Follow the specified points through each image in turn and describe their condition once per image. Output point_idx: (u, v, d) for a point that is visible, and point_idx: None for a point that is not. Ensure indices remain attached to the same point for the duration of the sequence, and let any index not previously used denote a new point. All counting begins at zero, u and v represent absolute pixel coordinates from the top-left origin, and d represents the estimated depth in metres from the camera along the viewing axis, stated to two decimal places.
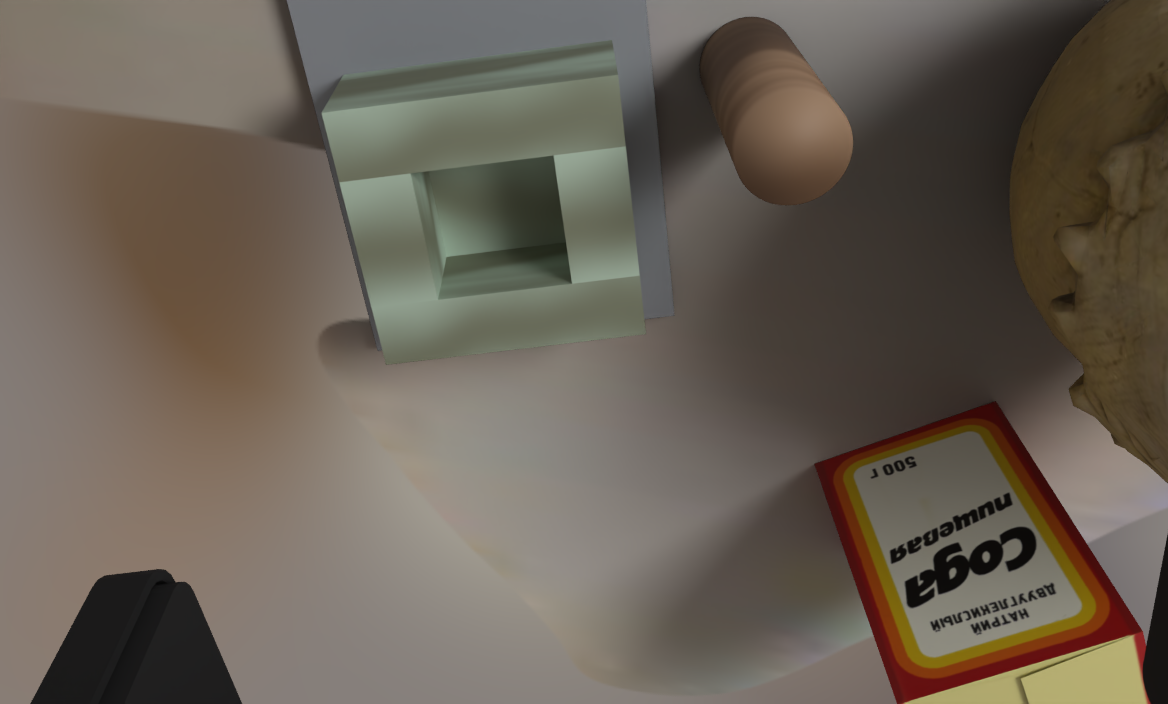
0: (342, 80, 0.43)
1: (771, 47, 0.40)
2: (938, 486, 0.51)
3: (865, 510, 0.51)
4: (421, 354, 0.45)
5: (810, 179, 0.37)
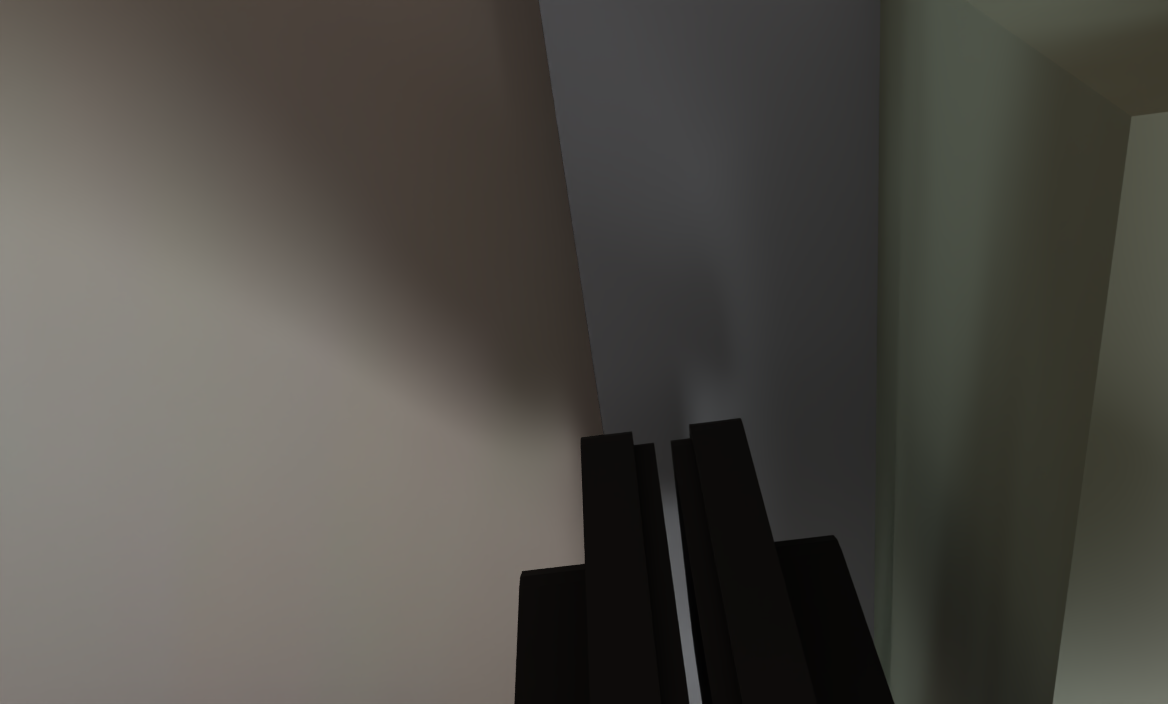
0: None
1: None
2: None
3: None
4: (1146, 371, 0.06)
5: None
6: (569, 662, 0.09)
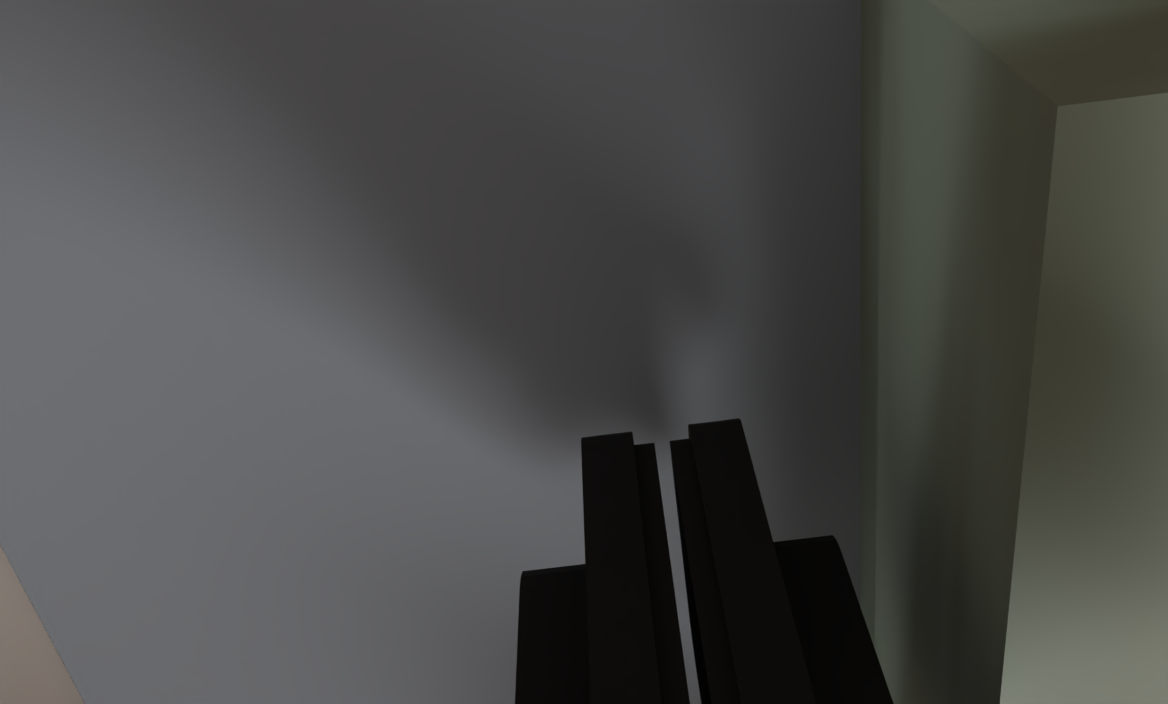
0: None
1: None
2: None
3: None
4: (1080, 345, 0.07)
5: None
6: (569, 662, 0.09)
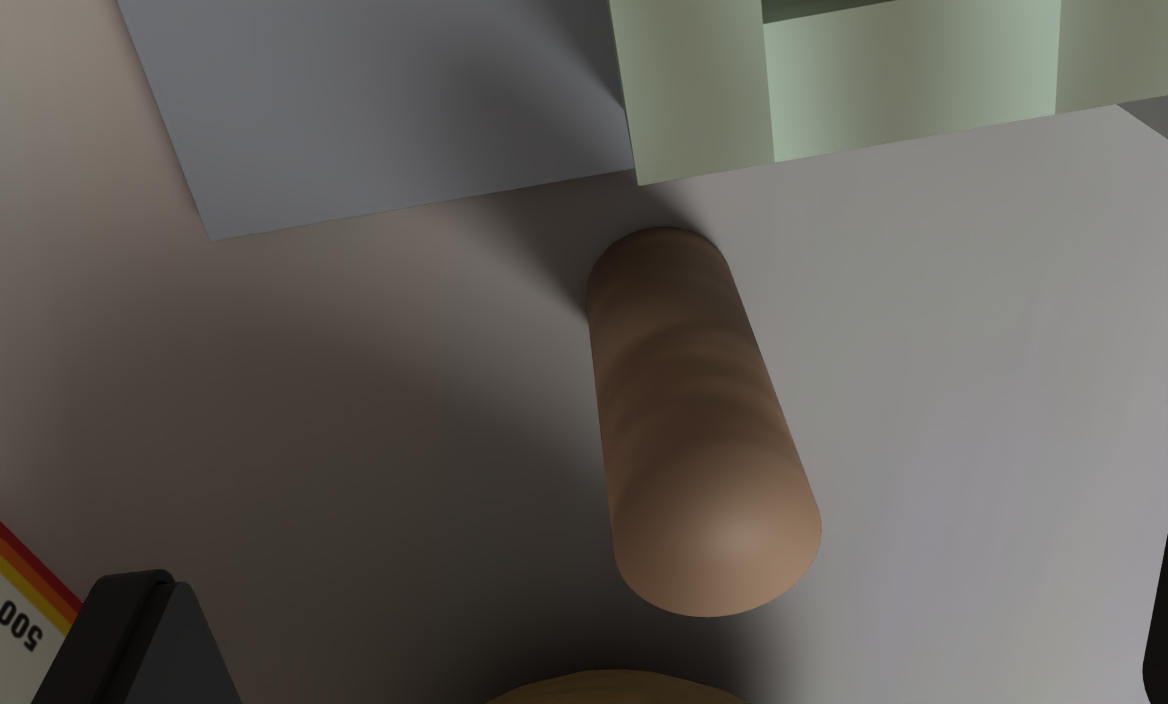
0: None
1: None
2: None
3: None
4: None
5: (664, 573, 0.21)
6: None
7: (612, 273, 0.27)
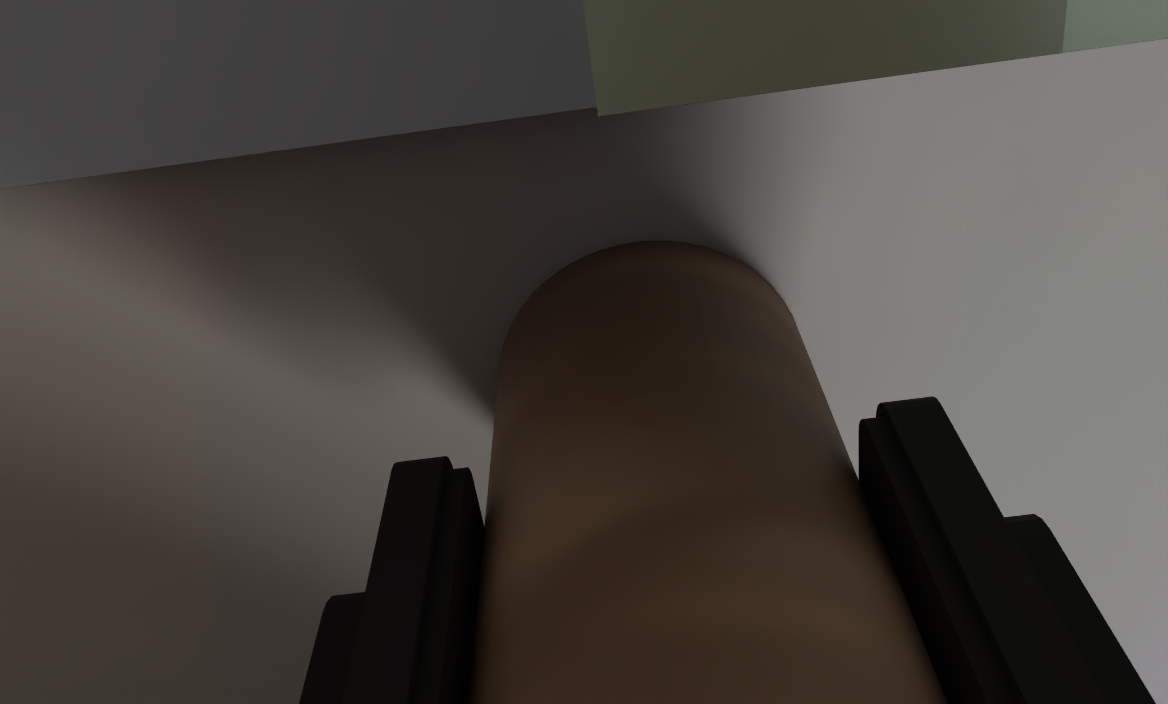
0: None
1: None
2: None
3: None
4: None
5: None
6: None
7: (539, 343, 0.12)
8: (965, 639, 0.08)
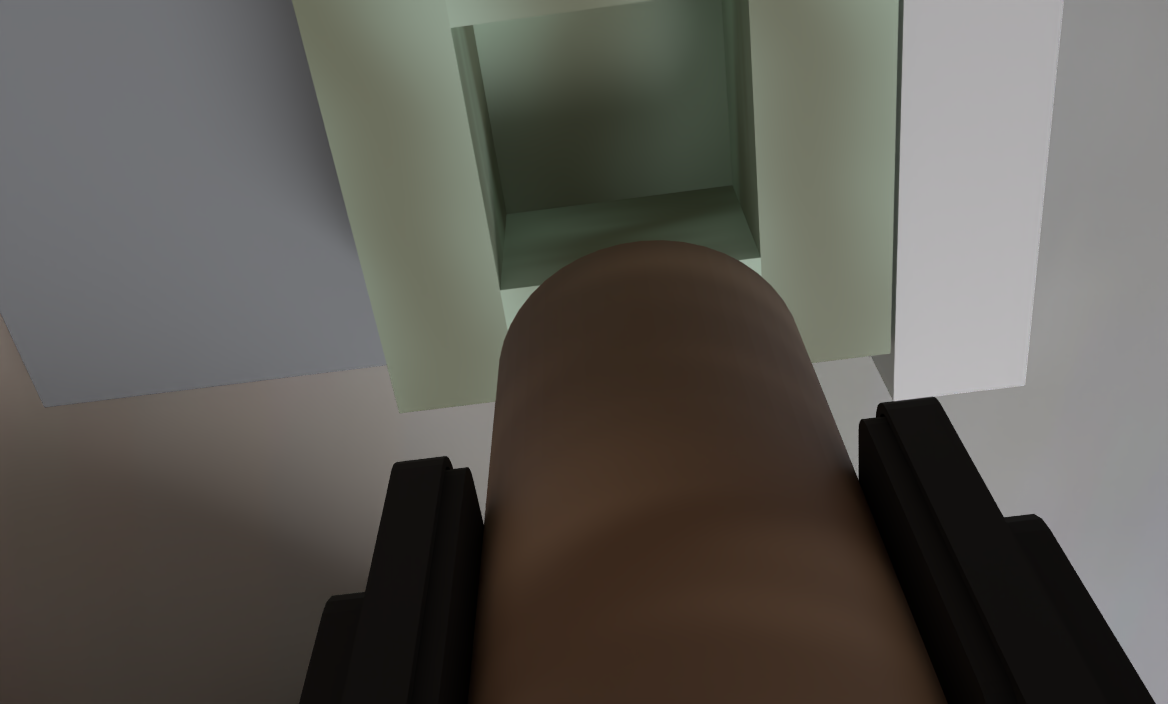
0: None
1: None
2: None
3: None
4: None
5: None
6: None
7: (538, 342, 0.12)
8: (966, 639, 0.08)
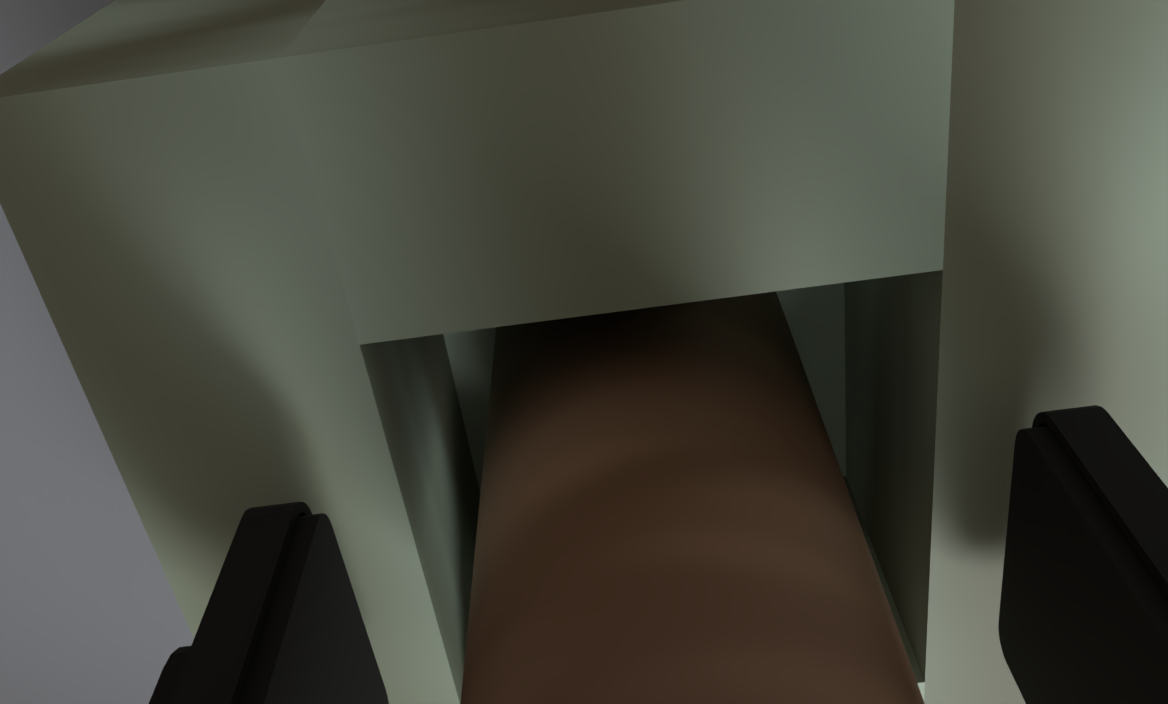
0: None
1: None
2: None
3: None
4: (61, 266, 0.10)
5: None
6: None
7: None
8: None
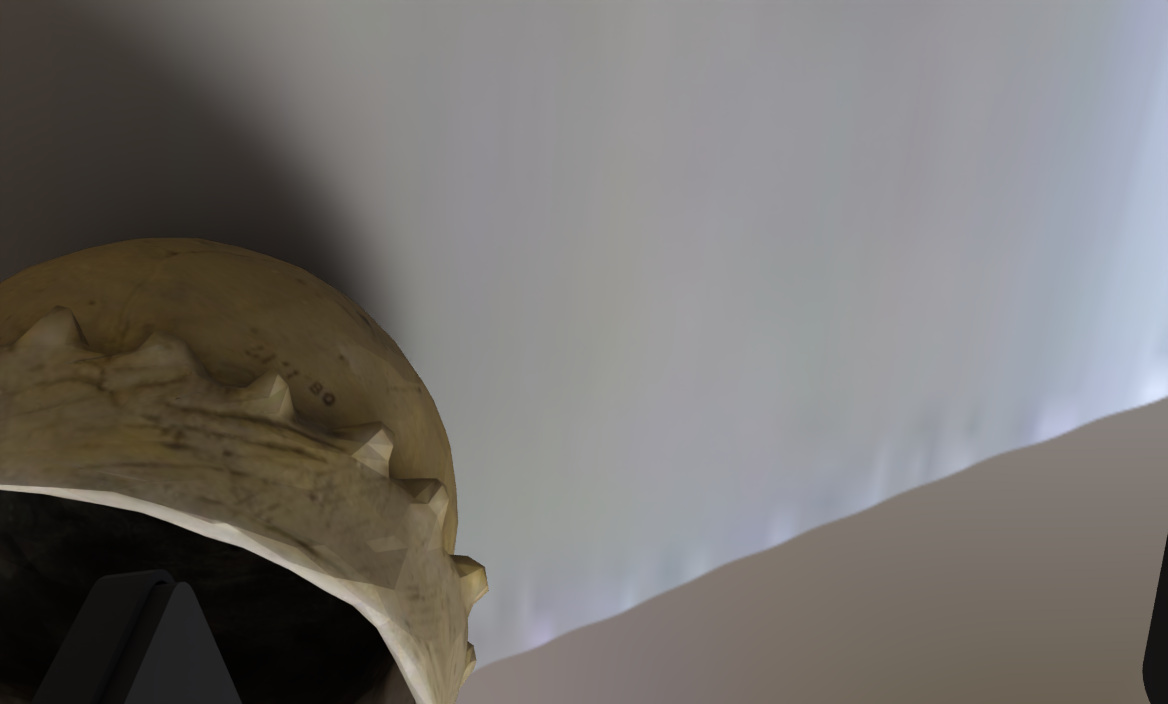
0: None
1: None
2: None
3: None
4: None
5: None
6: None
7: None
8: None
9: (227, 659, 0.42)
